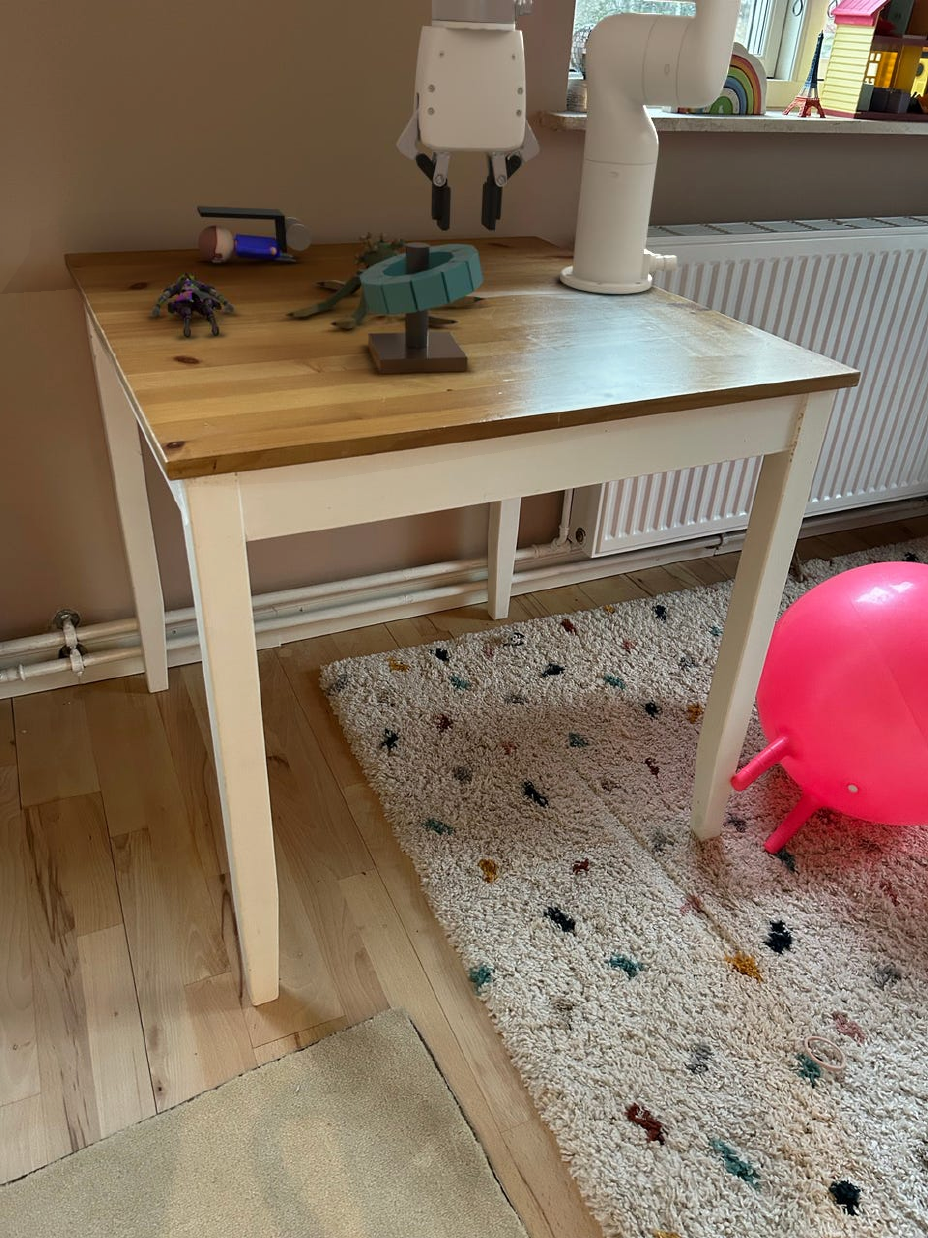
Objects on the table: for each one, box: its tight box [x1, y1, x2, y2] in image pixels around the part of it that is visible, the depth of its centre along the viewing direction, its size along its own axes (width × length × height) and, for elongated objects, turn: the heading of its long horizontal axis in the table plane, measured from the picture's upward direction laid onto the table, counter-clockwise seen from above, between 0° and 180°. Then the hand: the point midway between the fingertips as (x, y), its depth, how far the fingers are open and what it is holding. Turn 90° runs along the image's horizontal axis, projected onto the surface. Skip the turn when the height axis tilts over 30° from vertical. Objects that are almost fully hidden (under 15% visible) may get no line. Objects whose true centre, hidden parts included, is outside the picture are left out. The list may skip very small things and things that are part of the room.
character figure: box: [151, 272, 236, 339], centre depth 110 cm, size 9×4×16 cm
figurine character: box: [196, 205, 313, 264], centre depth 133 cm, size 7×8×15 cm
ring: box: [359, 243, 485, 316], centre depth 96 cm, size 12×12×3 cm
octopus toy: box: [285, 231, 486, 330], centre depth 115 cm, size 25×20×9 cm
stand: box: [367, 241, 469, 375], centre depth 98 cm, size 9×9×12 cm
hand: (465, 225), depth 95 cm, fingers open, 4 cm apart
